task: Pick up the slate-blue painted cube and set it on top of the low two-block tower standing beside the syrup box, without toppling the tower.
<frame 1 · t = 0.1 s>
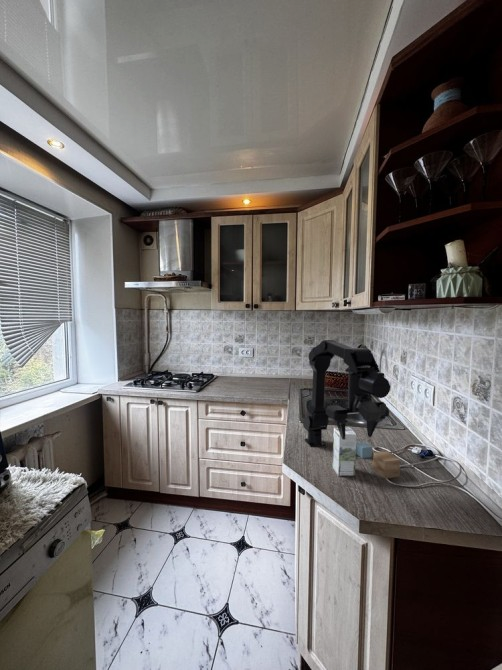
hand: (356, 437, 82), 15 cm above the worktop, fingers open, 9 cm apart
syrup box: (343, 472, 89), on the worktop
blue block: (363, 455, 101), on the worktop
tower base: (385, 473, 89), on the worktop, touching tower mid
tower mid: (386, 464, 89), point 3 cm above the worktop, touching tower base
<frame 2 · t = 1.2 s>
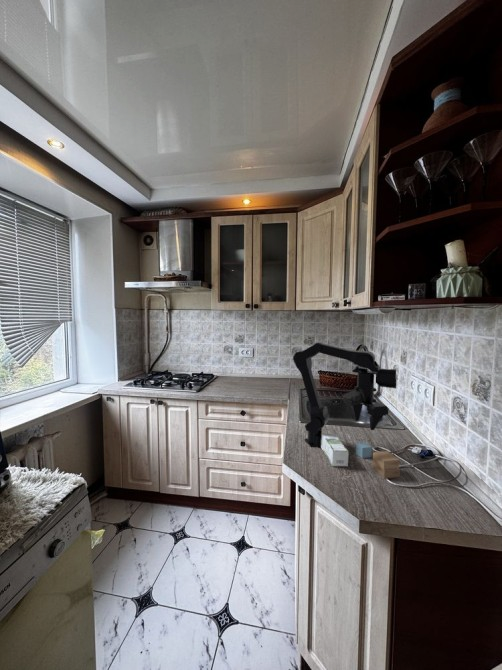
hand: (364, 425, 100), 12 cm above the worktop, fingers open, 9 cm apart
syrup box: (340, 458, 92), point 3 cm above the worktop
everything else where it was.
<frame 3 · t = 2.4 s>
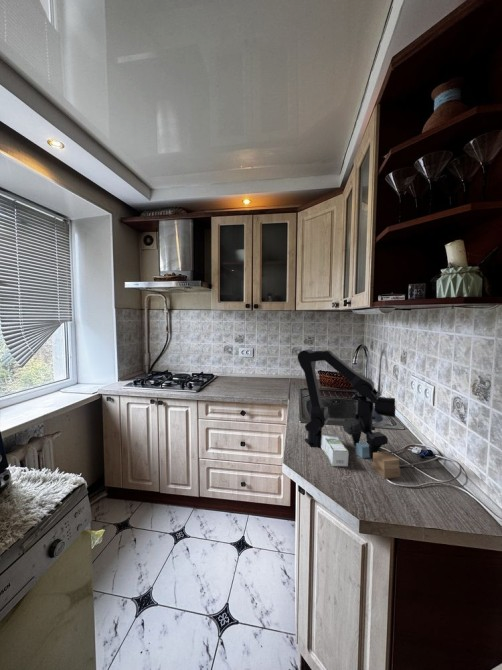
hand: (363, 452, 101), 1 cm above the worktop, fingers open, 9 cm apart
tower base: (385, 473, 89), on the worktop
tower mid: (385, 464, 89), point 3 cm above the worktop
everything else where it was.
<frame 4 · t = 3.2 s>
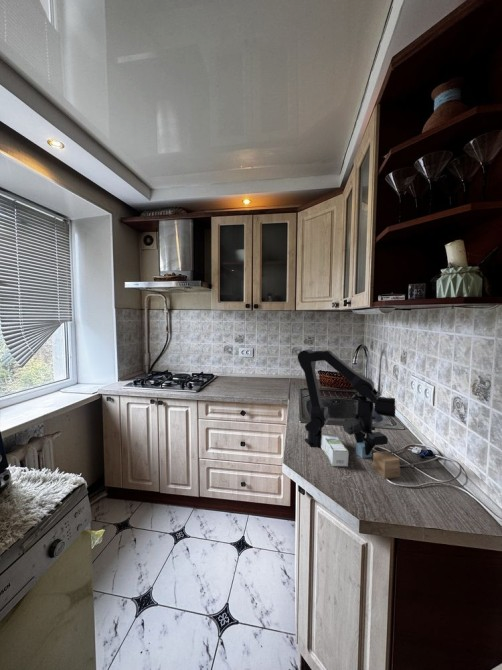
hand: (363, 452, 101), 1 cm above the worktop, fingers closed on blue block, 4 cm apart
blue block: (363, 454, 101), on the worktop, touching gripper
tower base: (385, 473, 89), on the worktop, touching tower mid
tower mid: (385, 464, 89), point 3 cm above the worktop, touching tower base
everything else where it was.
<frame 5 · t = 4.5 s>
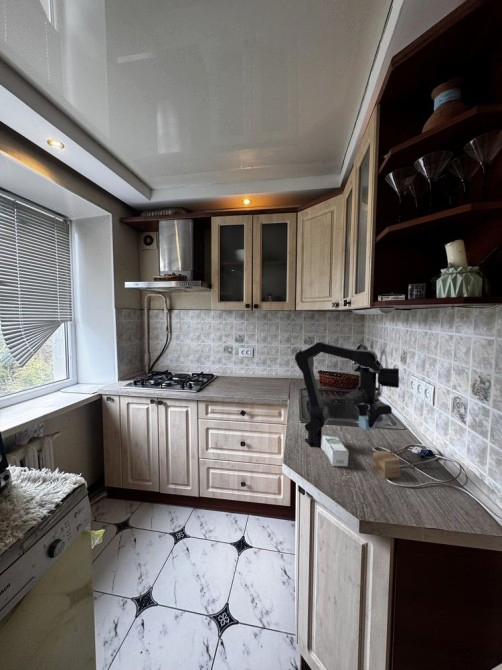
hand: (366, 425, 99), 12 cm above the worktop, fingers closed on blue block, 4 cm apart
blue block: (366, 427, 99), point 11 cm above the worktop, touching gripper
everything else where it was.
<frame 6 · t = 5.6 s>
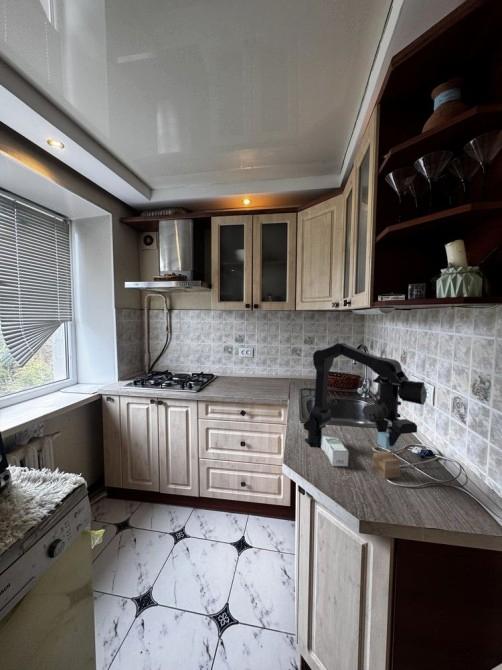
hand: (386, 442, 89), 10 cm above the worktop, fingers closed on blue block, 4 cm apart
blue block: (386, 445, 89), point 9 cm above the worktop, touching gripper
everything else where it was.
when the fingers open (8 cm above the worktop, at t = 6.7 s): blue block drops 1 cm, point 6 cm above the worktop.
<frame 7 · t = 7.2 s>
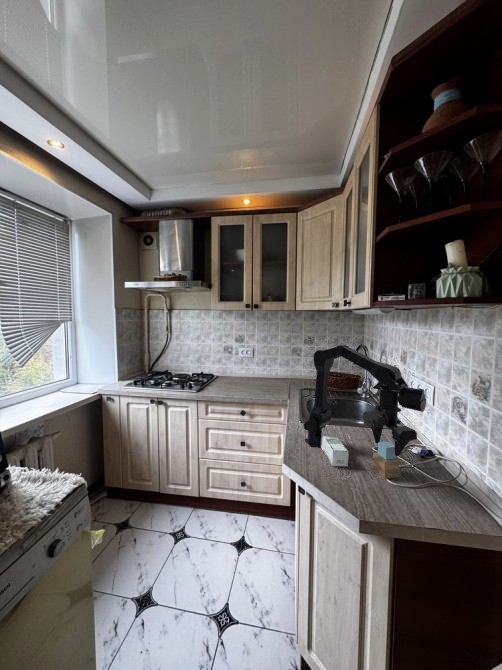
hand: (386, 449, 89), 8 cm above the worktop, fingers open, 9 cm apart
blue block: (387, 456, 89), point 6 cm above the worktop
everything else where it was.
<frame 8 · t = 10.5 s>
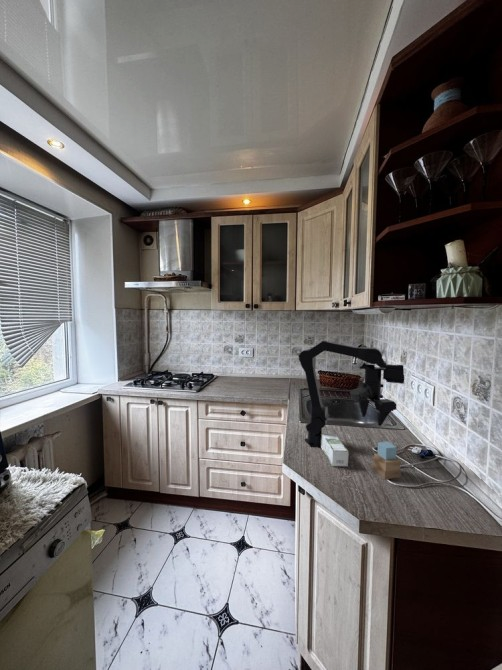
hand: (371, 421, 101), 13 cm above the worktop, fingers open, 9 cm apart
blue block: (386, 456, 89), point 6 cm above the worktop, touching tower mid
tower mid: (386, 465, 88), point 3 cm above the worktop, touching blue block, tower base
everything else where it was.
at the end: blue block 0.4 cm off-centre on the tower base, point 6.0 cm above the tower base's base; tower mid 0.2 cm off-centre on the tower base, point 3.0 cm above the tower base's base; blue block tilted 0° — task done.
